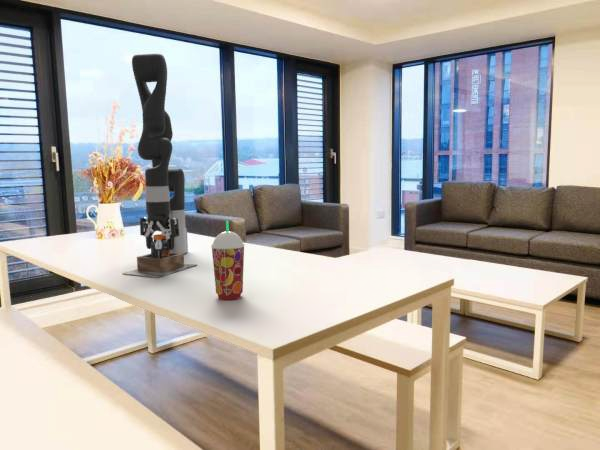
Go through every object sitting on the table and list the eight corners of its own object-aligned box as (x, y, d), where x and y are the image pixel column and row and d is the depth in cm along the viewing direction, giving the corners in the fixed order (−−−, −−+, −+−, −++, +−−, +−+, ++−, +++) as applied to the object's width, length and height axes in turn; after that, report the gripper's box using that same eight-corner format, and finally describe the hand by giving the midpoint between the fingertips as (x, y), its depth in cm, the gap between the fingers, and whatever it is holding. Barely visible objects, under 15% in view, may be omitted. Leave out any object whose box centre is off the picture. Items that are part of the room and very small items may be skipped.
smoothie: (214, 293, 129) (212, 219, 127) (246, 292, 130) (244, 218, 128) (211, 302, 121) (208, 222, 119) (245, 301, 122) (243, 222, 119)
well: (165, 262, 172) (164, 249, 172) (197, 265, 166) (196, 251, 166) (122, 274, 154) (121, 259, 154) (156, 278, 148) (156, 262, 148)
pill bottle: (165, 270, 157) (163, 236, 155) (148, 270, 158) (146, 235, 157) (173, 266, 163) (172, 233, 161) (157, 266, 164) (155, 233, 162)
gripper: (182, 199, 158) (185, 248, 160) (149, 198, 164) (151, 246, 166) (167, 201, 151) (169, 252, 153) (132, 200, 157) (135, 249, 159)
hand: (160, 249), depth 160 cm, fingers open, 8 cm apart
